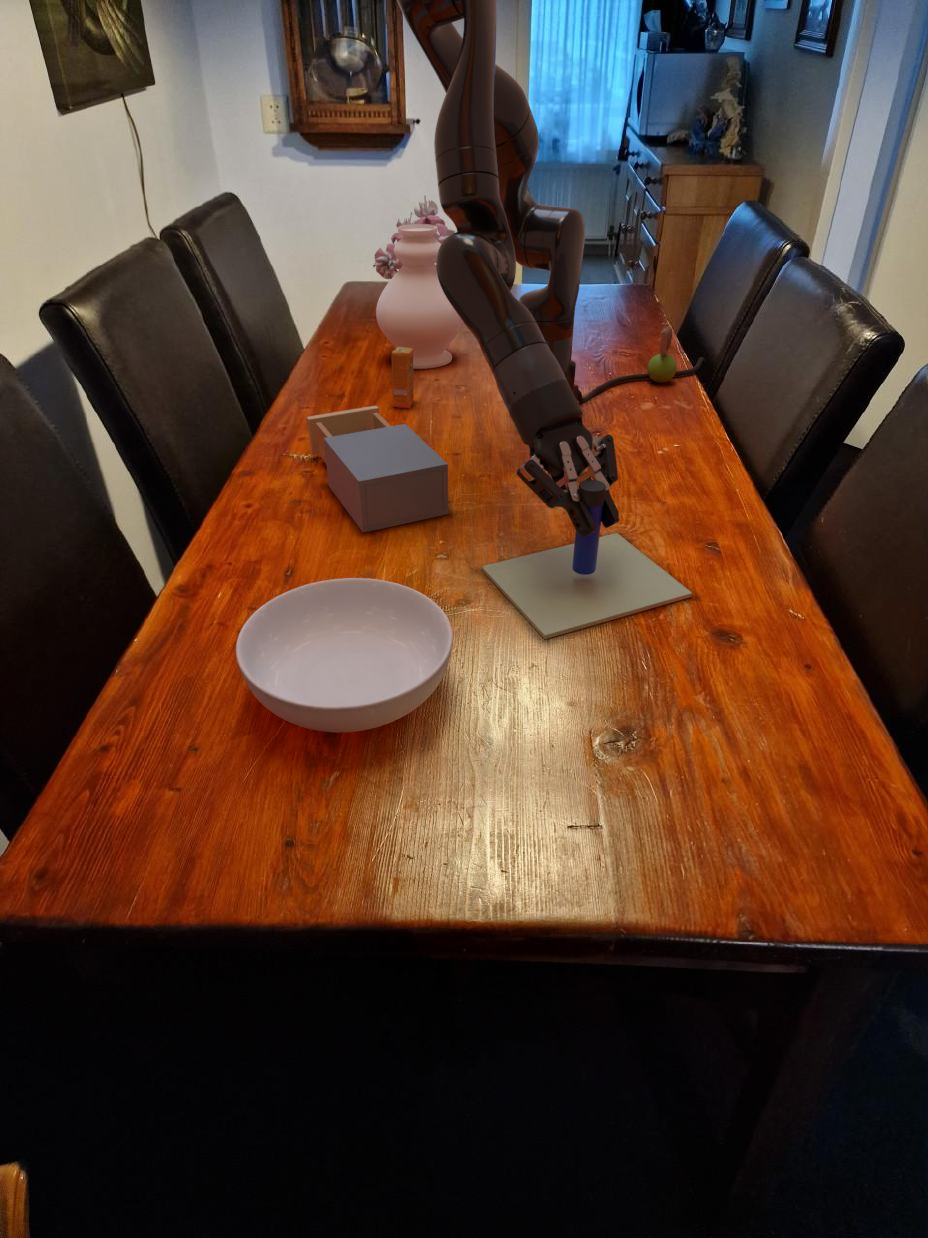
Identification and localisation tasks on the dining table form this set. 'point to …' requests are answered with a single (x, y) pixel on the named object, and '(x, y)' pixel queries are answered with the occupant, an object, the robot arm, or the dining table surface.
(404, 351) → the supplement box
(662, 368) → the green ball with stem
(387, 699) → the serving bowl
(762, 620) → the dining table surface
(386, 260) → the flower
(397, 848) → the dining table surface
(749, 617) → the dining table surface
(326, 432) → the drawer
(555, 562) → the mat
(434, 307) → the decorative vase
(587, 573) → the flashlight
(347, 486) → the cabinet
